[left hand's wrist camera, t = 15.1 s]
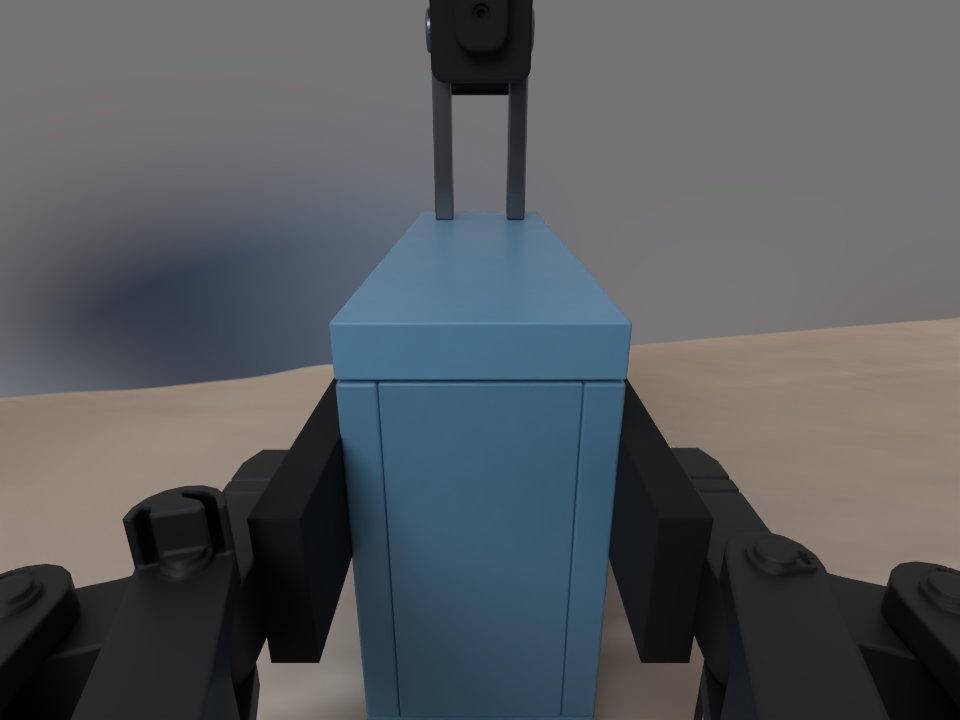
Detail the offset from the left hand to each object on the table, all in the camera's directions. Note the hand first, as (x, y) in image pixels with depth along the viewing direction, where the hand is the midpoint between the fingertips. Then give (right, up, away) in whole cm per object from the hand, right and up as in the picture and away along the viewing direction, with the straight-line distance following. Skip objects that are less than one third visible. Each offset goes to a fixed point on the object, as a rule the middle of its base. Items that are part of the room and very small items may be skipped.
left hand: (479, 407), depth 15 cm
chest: (0, -5, +6) cm, 8 cm away
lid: (0, +4, +3) cm, 5 cm away
